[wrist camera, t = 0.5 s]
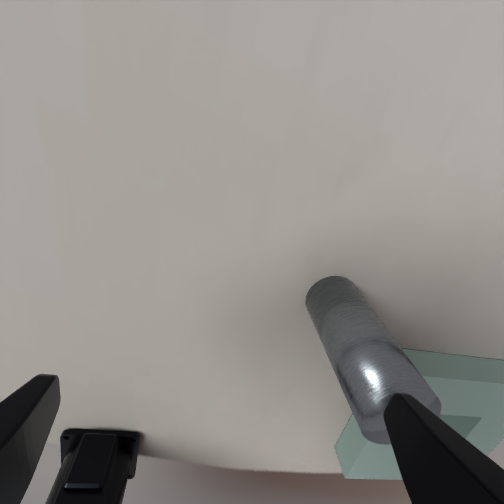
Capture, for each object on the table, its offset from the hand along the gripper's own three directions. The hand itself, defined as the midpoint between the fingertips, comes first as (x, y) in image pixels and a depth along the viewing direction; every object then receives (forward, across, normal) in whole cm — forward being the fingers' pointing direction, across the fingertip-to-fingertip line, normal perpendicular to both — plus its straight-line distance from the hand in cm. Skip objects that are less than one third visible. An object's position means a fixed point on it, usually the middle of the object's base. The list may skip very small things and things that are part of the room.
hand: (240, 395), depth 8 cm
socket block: (+13, -23, +16) cm, 31 cm away
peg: (+13, -9, +5) cm, 17 cm away
